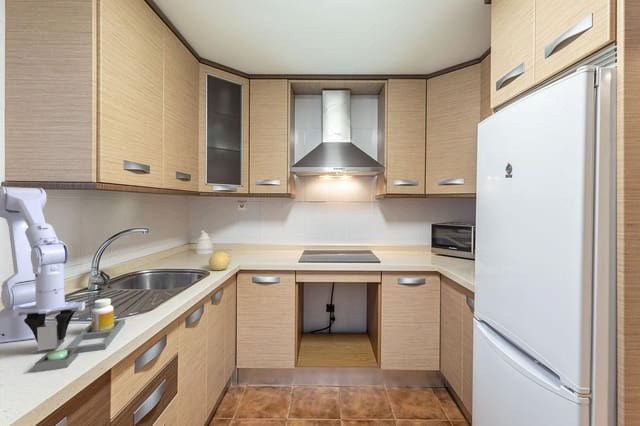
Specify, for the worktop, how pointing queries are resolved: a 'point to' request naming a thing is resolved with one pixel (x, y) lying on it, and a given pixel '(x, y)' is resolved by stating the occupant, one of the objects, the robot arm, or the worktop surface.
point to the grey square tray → (56, 361)
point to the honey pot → (204, 244)
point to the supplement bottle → (102, 316)
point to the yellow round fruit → (219, 261)
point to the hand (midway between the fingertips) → (51, 339)
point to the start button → (57, 354)
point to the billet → (48, 336)
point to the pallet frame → (87, 335)
